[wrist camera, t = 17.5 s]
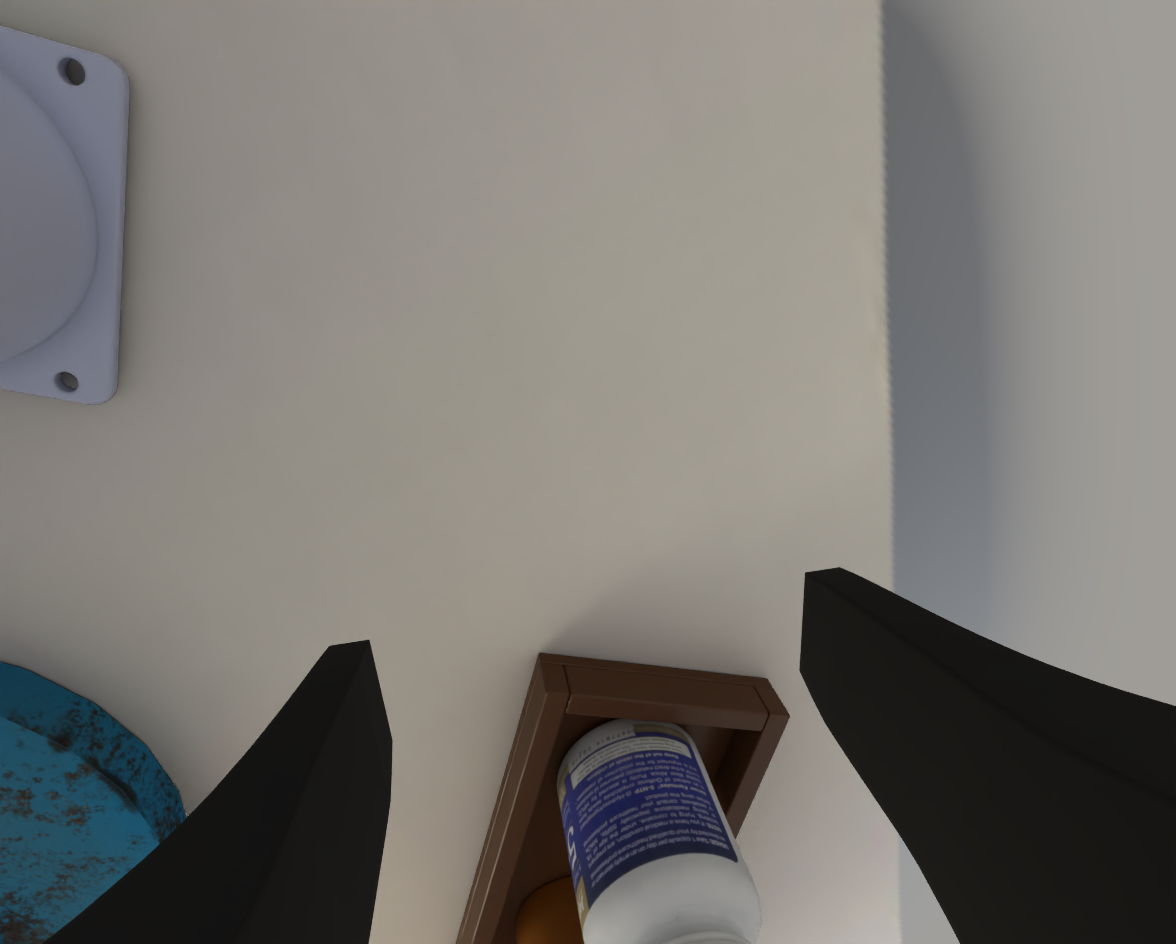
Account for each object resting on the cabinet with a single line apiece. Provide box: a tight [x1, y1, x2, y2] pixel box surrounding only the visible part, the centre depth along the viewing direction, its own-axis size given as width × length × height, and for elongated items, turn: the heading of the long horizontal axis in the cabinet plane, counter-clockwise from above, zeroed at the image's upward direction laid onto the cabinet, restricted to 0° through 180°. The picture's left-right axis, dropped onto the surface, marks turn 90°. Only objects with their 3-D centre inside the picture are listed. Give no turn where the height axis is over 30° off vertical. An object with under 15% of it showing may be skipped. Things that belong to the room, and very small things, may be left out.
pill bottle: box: [557, 718, 761, 944], centre depth 22 cm, size 5×5×9 cm
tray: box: [456, 653, 790, 944], centre depth 29 cm, size 9×24×2 cm, turn 165°
